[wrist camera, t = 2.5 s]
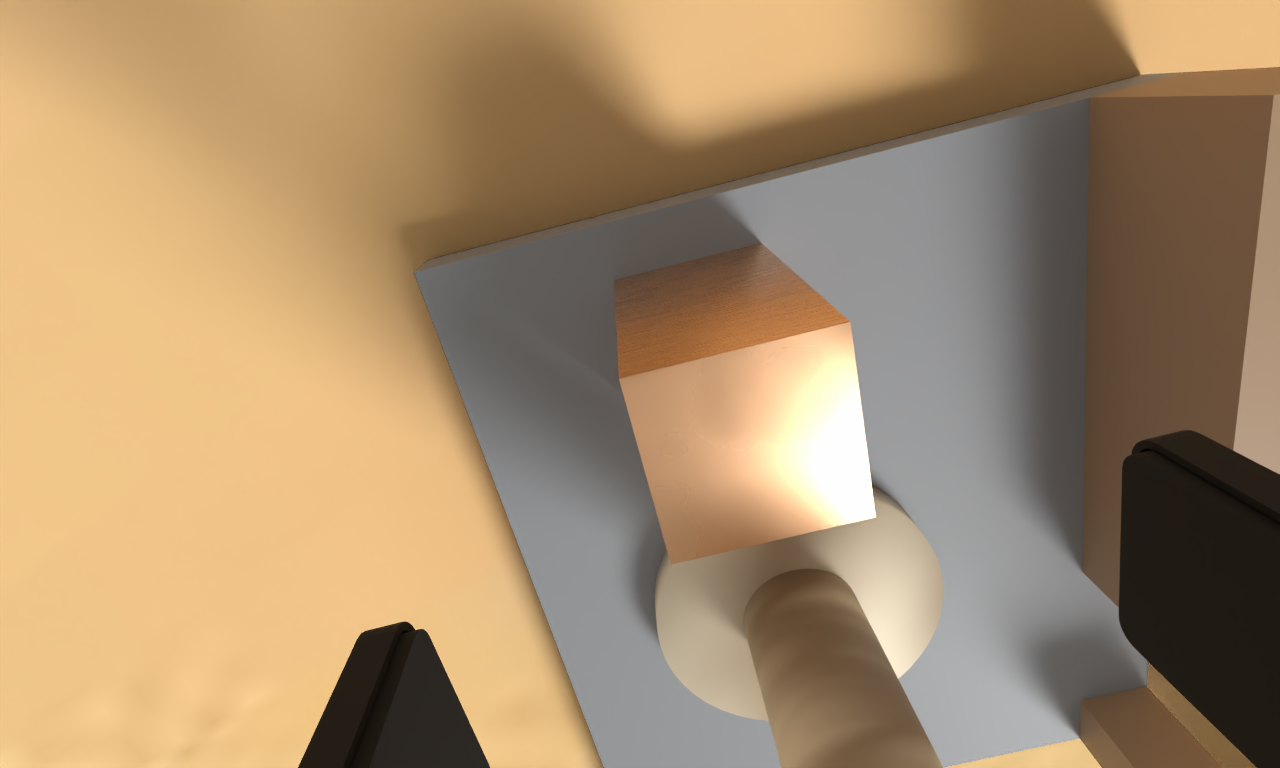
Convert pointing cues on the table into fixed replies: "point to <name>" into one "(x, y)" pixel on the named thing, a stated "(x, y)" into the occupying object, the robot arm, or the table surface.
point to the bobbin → (812, 637)
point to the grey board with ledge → (917, 395)
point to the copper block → (741, 402)
